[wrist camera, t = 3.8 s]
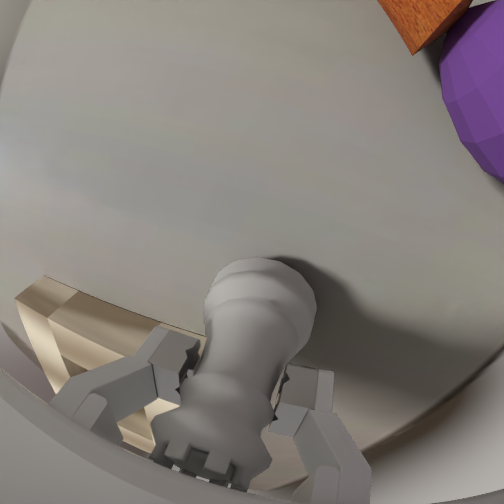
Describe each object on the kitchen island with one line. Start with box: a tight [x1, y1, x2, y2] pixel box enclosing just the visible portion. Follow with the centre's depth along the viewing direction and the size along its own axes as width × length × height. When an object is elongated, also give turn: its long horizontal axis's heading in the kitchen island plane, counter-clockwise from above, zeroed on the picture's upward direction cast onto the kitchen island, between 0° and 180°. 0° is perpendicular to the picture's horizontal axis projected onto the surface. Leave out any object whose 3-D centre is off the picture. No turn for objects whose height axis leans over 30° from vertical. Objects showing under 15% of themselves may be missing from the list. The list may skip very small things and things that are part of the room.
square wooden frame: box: [14, 276, 207, 453], centre depth 17 cm, size 12×13×3 cm
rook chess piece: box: [149, 257, 317, 492], centre depth 9 cm, size 4×4×8 cm
